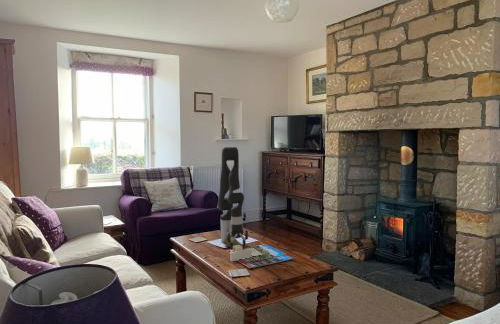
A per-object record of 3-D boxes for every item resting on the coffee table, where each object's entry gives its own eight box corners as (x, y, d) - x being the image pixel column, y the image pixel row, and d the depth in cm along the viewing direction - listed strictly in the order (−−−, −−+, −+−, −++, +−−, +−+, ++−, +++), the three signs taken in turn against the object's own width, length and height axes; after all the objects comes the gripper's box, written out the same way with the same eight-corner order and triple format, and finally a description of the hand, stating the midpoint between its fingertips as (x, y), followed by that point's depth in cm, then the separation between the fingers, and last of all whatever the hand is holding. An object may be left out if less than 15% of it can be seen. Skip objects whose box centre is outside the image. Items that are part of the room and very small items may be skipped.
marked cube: (232, 254, 237) (232, 245, 237) (239, 253, 239) (239, 244, 239) (235, 257, 233) (235, 248, 232) (242, 255, 235) (242, 246, 234)
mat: (243, 249, 246) (243, 249, 246) (252, 248, 249) (252, 247, 249) (253, 257, 232) (253, 256, 232) (262, 255, 234) (262, 254, 234)
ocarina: (246, 249, 247) (245, 235, 246) (241, 251, 243) (240, 237, 242) (225, 244, 260) (225, 230, 259) (220, 246, 256) (219, 232, 255)
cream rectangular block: (230, 260, 226) (230, 252, 226) (250, 257, 232) (250, 248, 231) (231, 261, 225) (231, 253, 224) (251, 257, 230) (251, 249, 230)
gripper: (244, 220, 240) (245, 243, 241) (224, 223, 235) (225, 247, 236) (249, 222, 233) (250, 246, 234) (228, 225, 228) (229, 250, 229)
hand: (237, 246), depth 235 cm, fingers open, 8 cm apart
